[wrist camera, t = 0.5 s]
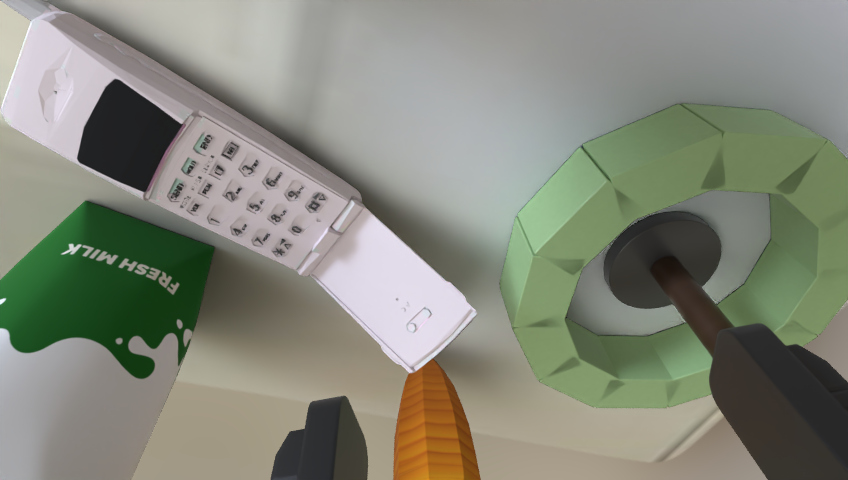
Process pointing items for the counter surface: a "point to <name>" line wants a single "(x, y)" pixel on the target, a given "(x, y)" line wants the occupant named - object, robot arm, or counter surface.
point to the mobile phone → (223, 177)
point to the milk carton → (93, 344)
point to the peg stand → (669, 270)
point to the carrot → (433, 430)
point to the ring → (655, 190)
